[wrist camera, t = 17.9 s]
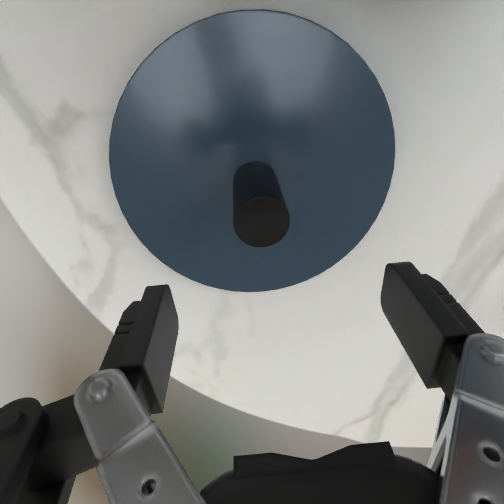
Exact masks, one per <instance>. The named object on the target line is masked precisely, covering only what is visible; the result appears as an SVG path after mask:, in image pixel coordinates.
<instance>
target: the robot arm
mask: <svg viewBox="0 0 504 504" xmlns="http://www.w3.org/2000/svg"><path fill="white" fill-rule="evenodd" d="M381 306H382V310H383V312H384V314H385V316H386V318H387V319H388V321H389V323H390V325H391V326H392V328H393V330H394V332H395V333H396V335H397V337H398V339H399V340H400V342H401V344H402V346H403V347H404V349H405V351H406V353H407V354H408V356H409V358H410V360H411V361H412V363H413V365H414V367H415V368H416V370H417V372H418V374H419V375H420V377H421V379H422V381H423V382H424V384H425V386H426V388H427V389H428V388H439V387H441V388H442V390H443V392H444V393H445V395H444V398H443V401H442V406H441V411H440V415H439V420H438V425H437V429H436V434H435V439H434V443H433V448H432V452H431V456H430V459H429V462H428V465H427V467H426V466H424V465H422V464H421V463H419V462H416V461H414V460H412V459H409V458H406V457H403V456H400V455H395V454H394V453H393V450H392V448H391V445H390V443H389V441H388V442H378V443H367V444H357V445H350V446H347V447H345V448H342V449H340V450H337V451H335V452H333V453H330V454H328V455H325V456H323V457H321V458H318V459H314V460H310V459H303V458H298V457H292V456H287V455H281V454H276V453H263V454H253V455H243V456H234V469H232V470H229V471H227V472H225V473H223V474H222V475H220V476H219V477H217V478H215V479H214V480H213V481H211V482H210V483H209V484H208V485H207V486H206V487H205V488H204V489H202V491H201V492H200V493H199V491H198V490H197V488H196V486H195V485H194V483H193V481H192V480H191V478H190V477H189V475H188V473H187V472H186V470H185V469H184V467H183V465H182V464H181V462H180V460H179V459H178V457H177V456H176V454H175V452H174V451H173V449H172V447H171V446H170V444H169V443H168V441H167V439H166V438H165V436H164V435H163V433H162V431H161V430H160V428H159V427H158V425H157V424H156V422H155V421H152V419H151V414H156V413H162V412H163V408H164V402H165V397H166V392H167V387H168V381H169V377H170V371H171V366H172V361H173V356H174V351H175V345H176V340H177V335H178V316H177V312H176V308H175V305H174V301H173V297H172V294H171V290H170V287H169V285H167V284H166V285H156V286H147V287H146V289H145V291H144V294H143V297H142V299H141V301H134V302H132V303H131V304H130V305H129V307H128V308H127V309H126V310H125V311H124V312H123V314H122V316H121V319H120V321H119V326H117V328H116V331H115V335H114V336H113V338H112V341H111V343H110V345H109V348H108V350H107V353H106V355H105V357H104V360H103V362H102V365H101V367H100V369H99V371H98V372H96V373H95V374H92V375H91V376H89V377H88V378H87V379H86V380H84V381H83V382H82V383H81V385H80V386H79V387H78V389H77V390H76V393H75V394H74V395H71V396H69V397H67V398H64V399H61V400H58V401H56V402H53V403H50V404H47V405H45V406H41V404H40V403H39V401H38V400H36V399H34V398H21V399H17V400H15V401H12V402H10V403H9V404H7V405H5V406H3V407H2V408H0V504H67V503H68V500H69V497H70V494H71V491H72V487H73V484H74V481H75V478H76V475H78V474H80V473H82V472H85V471H87V470H89V469H92V468H93V467H96V470H97V473H98V476H99V478H100V481H101V483H102V486H103V488H104V491H105V494H106V496H107V499H108V501H109V504H504V339H503V338H501V337H498V336H496V335H492V334H486V333H485V332H484V331H483V330H482V329H481V328H480V327H479V326H478V325H477V323H476V322H475V321H474V320H473V319H472V318H471V317H470V315H469V314H468V313H467V312H466V311H465V310H464V309H463V308H462V306H461V305H460V304H459V303H457V302H456V300H455V299H454V297H453V296H452V295H451V294H449V292H448V291H447V290H446V288H445V287H444V286H443V285H442V284H441V283H440V282H439V281H437V280H436V279H434V278H432V277H431V276H429V275H427V274H421V273H420V272H419V271H418V270H417V269H416V267H415V266H414V265H413V264H412V263H411V262H399V263H389V264H387V265H386V268H385V273H384V279H383V285H382V291H381Z"/></svg>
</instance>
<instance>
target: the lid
mask: <svg viewBox="0 0 504 504" xmlns="http://www.w3.org/2000/svg"><path fill="white" fill-rule="evenodd" d="M394 158H395V138H394V128H393V123H392V117H391V112H390V109H389V106H388V103H387V100H386V98H385V95H384V93H383V91H382V89H381V87H380V85H379V83H378V81H377V79H376V77H375V75H374V74H373V72H372V71H371V70H370V68H369V67H368V65H367V64H366V63H365V61H364V60H363V59H362V58H361V57H360V56H359V55H358V54H357V53H356V52H355V50H354V49H353V48H352V47H351V46H350V45H349V44H348V43H346V42H345V41H344V40H342V39H341V38H339V37H338V36H337V35H335V34H334V33H333V32H331V31H330V30H328V29H326V28H324V27H322V26H320V25H318V24H316V23H314V22H312V21H311V20H308V19H305V18H302V17H299V16H295V15H292V14H289V13H284V12H278V11H271V10H237V11H232V12H226V13H221V14H216V15H214V16H211V17H208V18H205V19H202V20H199V21H196V22H194V23H192V24H191V25H189V26H187V27H185V28H183V29H181V30H180V31H178V32H176V33H174V34H173V35H172V36H170V37H169V38H168V39H166V40H165V41H164V42H163V43H161V44H160V45H159V46H157V47H156V48H155V49H154V50H153V51H152V53H151V54H150V55H149V56H148V57H147V58H146V59H145V60H144V61H143V62H142V63H141V64H140V66H139V67H138V69H137V70H136V72H135V73H134V74H133V76H132V77H131V79H130V80H129V82H128V84H127V86H126V88H125V90H124V92H123V94H122V96H121V98H120V100H119V103H118V106H117V109H116V112H115V115H114V119H113V123H112V129H111V135H110V145H109V163H110V171H111V179H112V183H113V187H114V191H115V195H116V198H117V200H118V203H119V205H120V208H121V210H122V213H123V215H124V217H125V218H126V220H127V222H128V224H129V226H130V227H131V229H132V230H133V232H134V233H135V234H136V236H137V237H138V238H139V240H140V241H141V242H142V243H143V244H144V246H145V247H146V248H147V249H148V250H149V251H150V252H151V253H152V254H153V255H154V256H156V257H157V258H158V259H159V260H160V261H161V262H163V263H164V264H165V265H167V266H168V267H170V268H171V269H173V270H174V271H176V272H177V273H179V274H181V275H183V276H185V277H187V278H189V279H191V280H193V281H196V282H199V283H201V284H204V285H207V286H211V287H214V288H218V289H224V290H230V291H240V292H259V291H269V290H275V289H281V288H284V287H288V286H292V285H295V284H298V283H301V282H303V281H306V280H308V279H310V278H312V277H314V276H316V275H318V274H320V273H322V272H324V271H325V270H327V269H328V268H330V267H332V266H333V265H335V264H336V263H337V262H338V261H340V260H341V259H342V258H343V257H345V256H346V255H347V254H348V253H349V252H350V251H351V250H352V249H353V248H354V247H355V246H356V245H357V244H358V243H359V242H360V241H361V239H362V238H363V237H364V236H365V234H366V233H367V232H368V230H369V229H370V227H371V226H372V224H373V223H374V221H375V220H376V218H377V216H378V214H379V212H380V210H381V208H382V206H383V204H384V201H385V199H386V196H387V193H388V190H389V187H390V183H391V178H392V174H393V169H394Z"/></svg>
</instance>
